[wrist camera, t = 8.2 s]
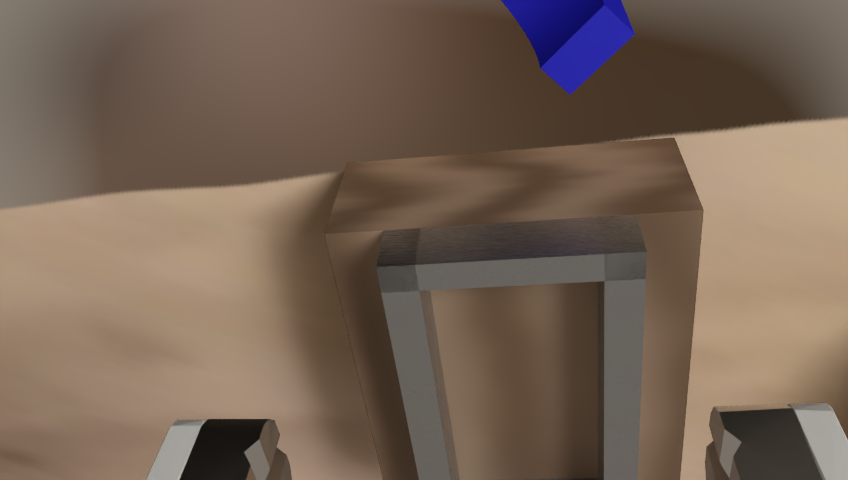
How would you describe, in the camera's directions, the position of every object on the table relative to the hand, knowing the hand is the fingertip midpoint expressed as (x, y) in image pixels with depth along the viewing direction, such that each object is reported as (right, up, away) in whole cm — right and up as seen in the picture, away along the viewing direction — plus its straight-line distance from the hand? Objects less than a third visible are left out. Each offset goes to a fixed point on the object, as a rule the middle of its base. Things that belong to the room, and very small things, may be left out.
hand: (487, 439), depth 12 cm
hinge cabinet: (+4, 0, +29) cm, 29 cm away
